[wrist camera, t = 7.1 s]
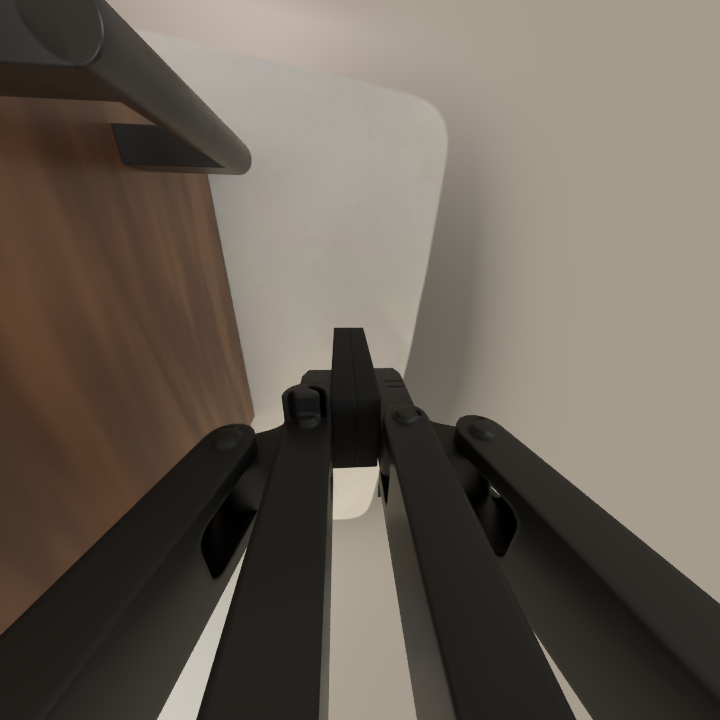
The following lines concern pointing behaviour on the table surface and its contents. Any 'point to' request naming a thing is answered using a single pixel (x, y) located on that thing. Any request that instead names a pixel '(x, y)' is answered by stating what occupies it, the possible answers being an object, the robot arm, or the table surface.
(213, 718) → the robot arm
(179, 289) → the door
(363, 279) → the table surface
